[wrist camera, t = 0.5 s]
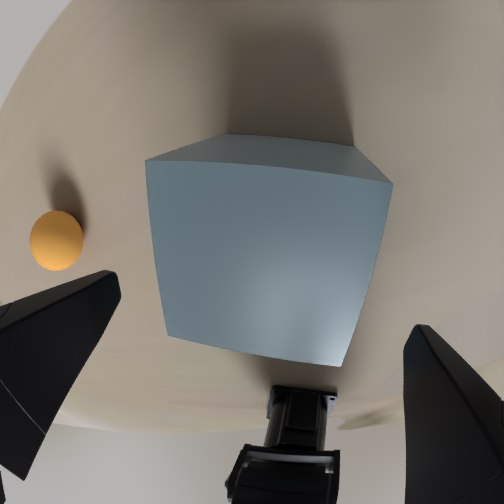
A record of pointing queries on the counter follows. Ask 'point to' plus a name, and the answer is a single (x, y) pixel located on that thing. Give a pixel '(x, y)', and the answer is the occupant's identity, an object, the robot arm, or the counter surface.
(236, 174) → the pale blue-grey cube
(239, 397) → the counter surface
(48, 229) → the ball
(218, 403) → the counter surface
